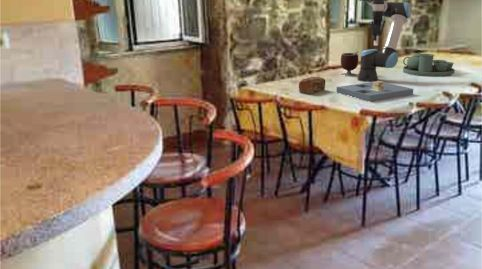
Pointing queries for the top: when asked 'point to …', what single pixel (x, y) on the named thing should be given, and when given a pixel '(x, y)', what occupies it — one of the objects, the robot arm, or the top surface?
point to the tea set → (427, 66)
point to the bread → (311, 85)
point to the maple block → (378, 85)
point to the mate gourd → (349, 63)
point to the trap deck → (374, 91)
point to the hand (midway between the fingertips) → (375, 45)
